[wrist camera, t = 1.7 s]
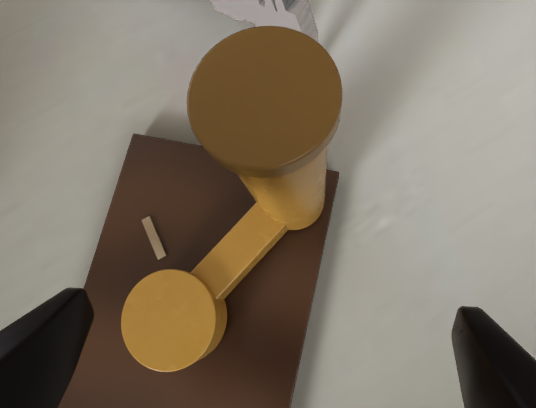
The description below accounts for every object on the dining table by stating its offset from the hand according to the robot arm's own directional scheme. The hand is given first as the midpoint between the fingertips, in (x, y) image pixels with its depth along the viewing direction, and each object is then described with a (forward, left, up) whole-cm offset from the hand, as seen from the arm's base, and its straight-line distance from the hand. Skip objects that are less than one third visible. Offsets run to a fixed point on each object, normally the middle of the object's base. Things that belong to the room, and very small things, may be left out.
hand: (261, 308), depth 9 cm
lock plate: (-2, +5, -11) cm, 13 cm away
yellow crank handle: (+1, +3, -10) cm, 10 cm away
